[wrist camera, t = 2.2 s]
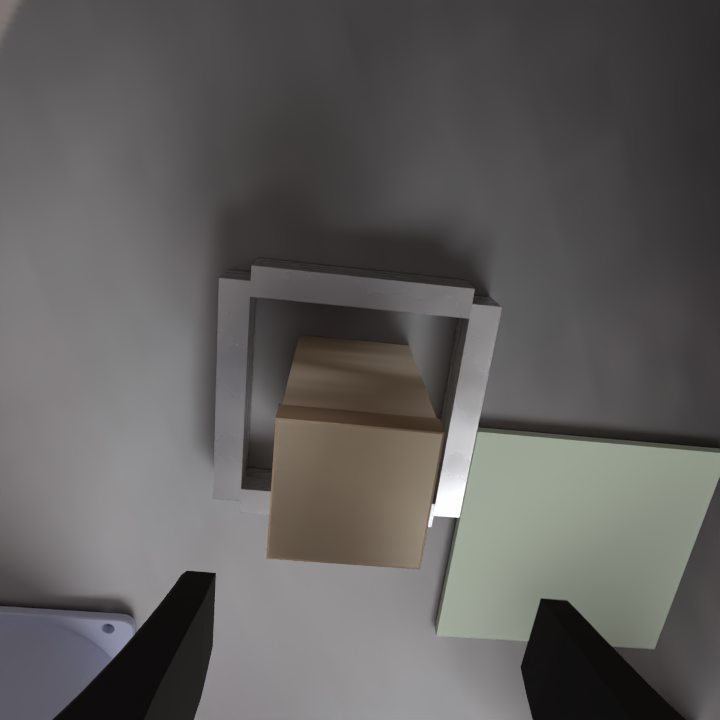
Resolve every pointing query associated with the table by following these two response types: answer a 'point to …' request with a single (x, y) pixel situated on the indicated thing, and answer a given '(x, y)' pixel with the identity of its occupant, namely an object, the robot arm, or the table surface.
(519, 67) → the table surface
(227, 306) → the metal collar
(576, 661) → the robot arm
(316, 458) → the maple peg
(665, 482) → the pad
